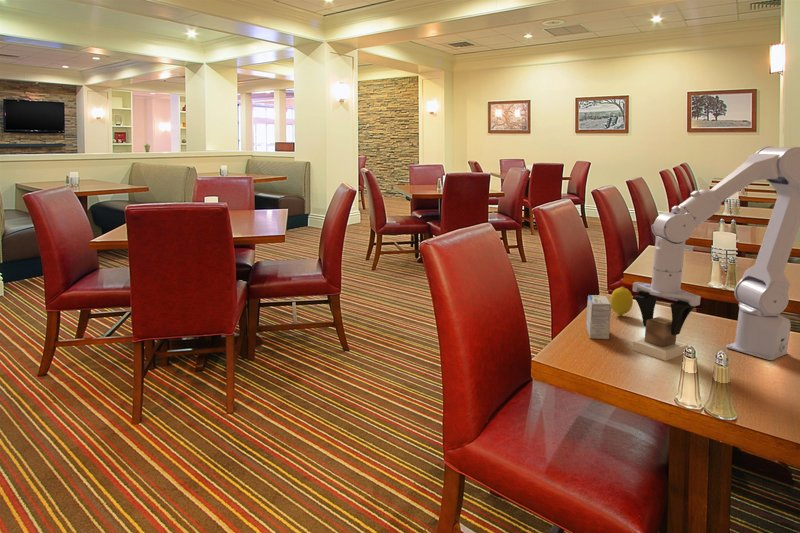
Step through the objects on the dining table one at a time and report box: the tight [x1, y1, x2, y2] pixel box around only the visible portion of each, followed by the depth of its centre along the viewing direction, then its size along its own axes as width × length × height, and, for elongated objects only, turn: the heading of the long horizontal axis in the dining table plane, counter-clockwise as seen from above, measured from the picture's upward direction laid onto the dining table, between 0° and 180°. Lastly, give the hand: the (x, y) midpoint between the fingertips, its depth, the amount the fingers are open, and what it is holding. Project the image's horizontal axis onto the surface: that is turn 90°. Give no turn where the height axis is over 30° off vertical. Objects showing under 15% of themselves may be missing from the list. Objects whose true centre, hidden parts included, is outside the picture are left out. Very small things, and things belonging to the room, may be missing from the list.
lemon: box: [609, 286, 634, 317], centre depth 150 cm, size 6×6×8 cm
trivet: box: [631, 336, 689, 362], centre depth 126 cm, size 8×8×3 cm
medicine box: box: [585, 294, 612, 340], centre depth 136 cm, size 8×4×9 cm, turn 168°
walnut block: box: [644, 316, 677, 347], centre depth 125 cm, size 4×4×5 cm
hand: (661, 329), depth 125 cm, fingers open, 6 cm apart
